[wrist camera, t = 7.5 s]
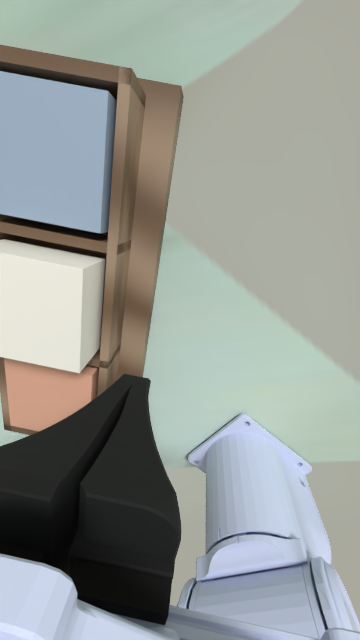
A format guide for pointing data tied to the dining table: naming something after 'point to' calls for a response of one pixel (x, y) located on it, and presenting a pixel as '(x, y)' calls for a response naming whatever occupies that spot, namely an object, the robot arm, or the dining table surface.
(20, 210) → the slate blue key
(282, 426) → the dining table surface
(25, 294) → the cream key
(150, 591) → the robot arm
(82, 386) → the terracotta key
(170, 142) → the wooden compartment tray
